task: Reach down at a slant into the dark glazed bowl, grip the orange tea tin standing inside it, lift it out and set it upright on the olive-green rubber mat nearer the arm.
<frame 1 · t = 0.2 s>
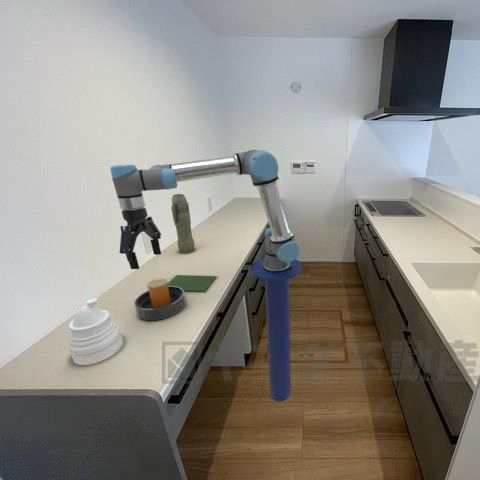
hand: (147, 261, 103), 20 cm above the table, tool pointing down, fingers open, 13 cm apart
tea tin: (162, 306, 107), point 1 cm above the table, touching bowl
green elongated piece: (187, 251, 163), on the table
honey pot: (99, 349, 86), on the table
bowl: (162, 308, 108), on the table
mat: (190, 283, 126), on the table
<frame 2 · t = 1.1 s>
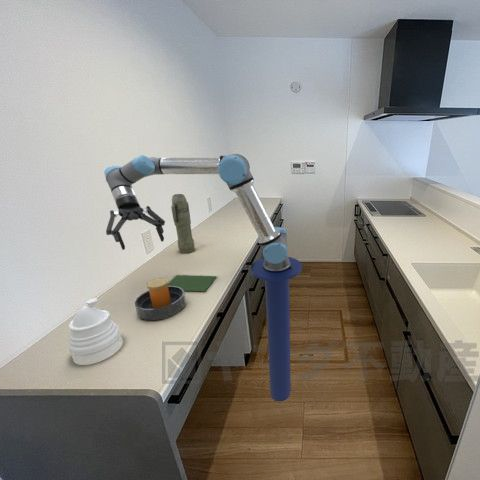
hand: (144, 243, 105), 26 cm above the table, tool tilted 45°, fingers open, 13 cm apart
nothing on the table moved.
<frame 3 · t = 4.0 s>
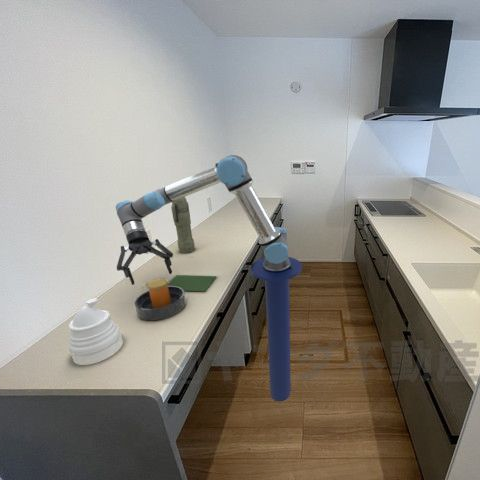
hand: (152, 278, 108), 12 cm above the table, tool tilted 45°, fingers open, 13 cm apart
nothing on the table moved.
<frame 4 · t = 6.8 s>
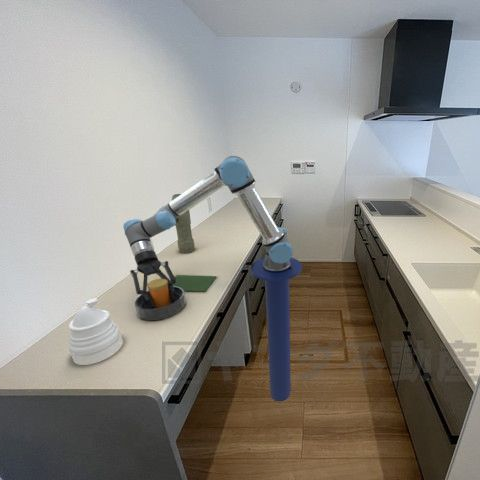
hand: (163, 303, 104), 4 cm above the table, tool tilted 45°, fingers closed on tea tin, 7 cm apart
tea tin: (162, 306, 107), point 1 cm above the table, touching bowl, gripper
everything else where it was.
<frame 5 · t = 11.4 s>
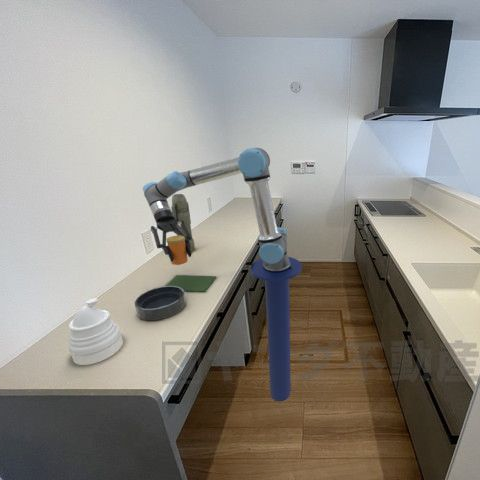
hand: (181, 257, 113), 17 cm above the table, tool tilted 45°, fingers closed on tea tin, 7 cm apart
tea tin: (179, 261, 117), point 14 cm above the table, touching gripper
everything else where it was.
when the fingers open (4 cm above the table, at t = 16.1 s): tea tin stays where it is, resting on mat.
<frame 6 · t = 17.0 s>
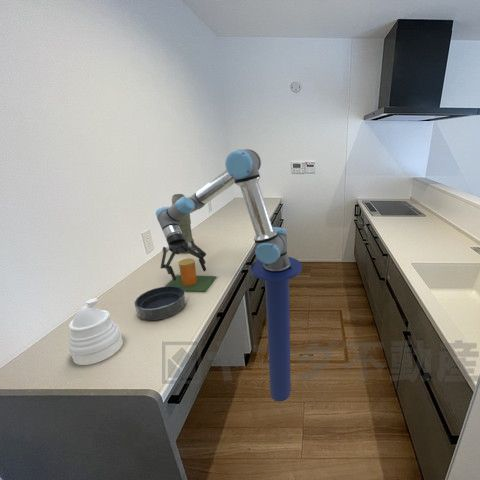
hand: (190, 274, 123), 6 cm above the table, tool tilted 45°, fingers open, 13 cm apart
tea tin: (190, 282, 126), point 1 cm above the table, touching mat
everything else where it was.
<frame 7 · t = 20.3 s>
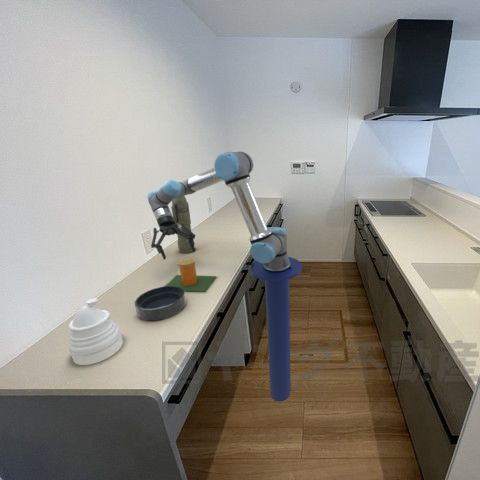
hand: (180, 254, 129), 12 cm above the table, tool tilted 45°, fingers open, 13 cm apart
nothing on the table moved.
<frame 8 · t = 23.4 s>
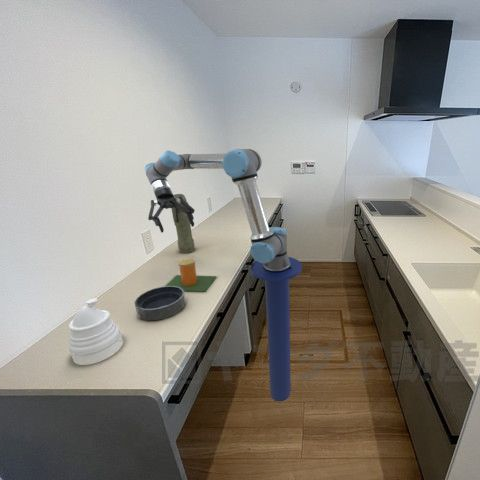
hand: (178, 228, 124), 26 cm above the table, tool tilted 45°, fingers open, 13 cm apart
nothing on the table moved.
at the end: tea tin inside the target area on the mat (0.1 cm from its centre), point 0.6 cm above the mat's base; tea tin tilted 0°; the gripper is holding nothing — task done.
